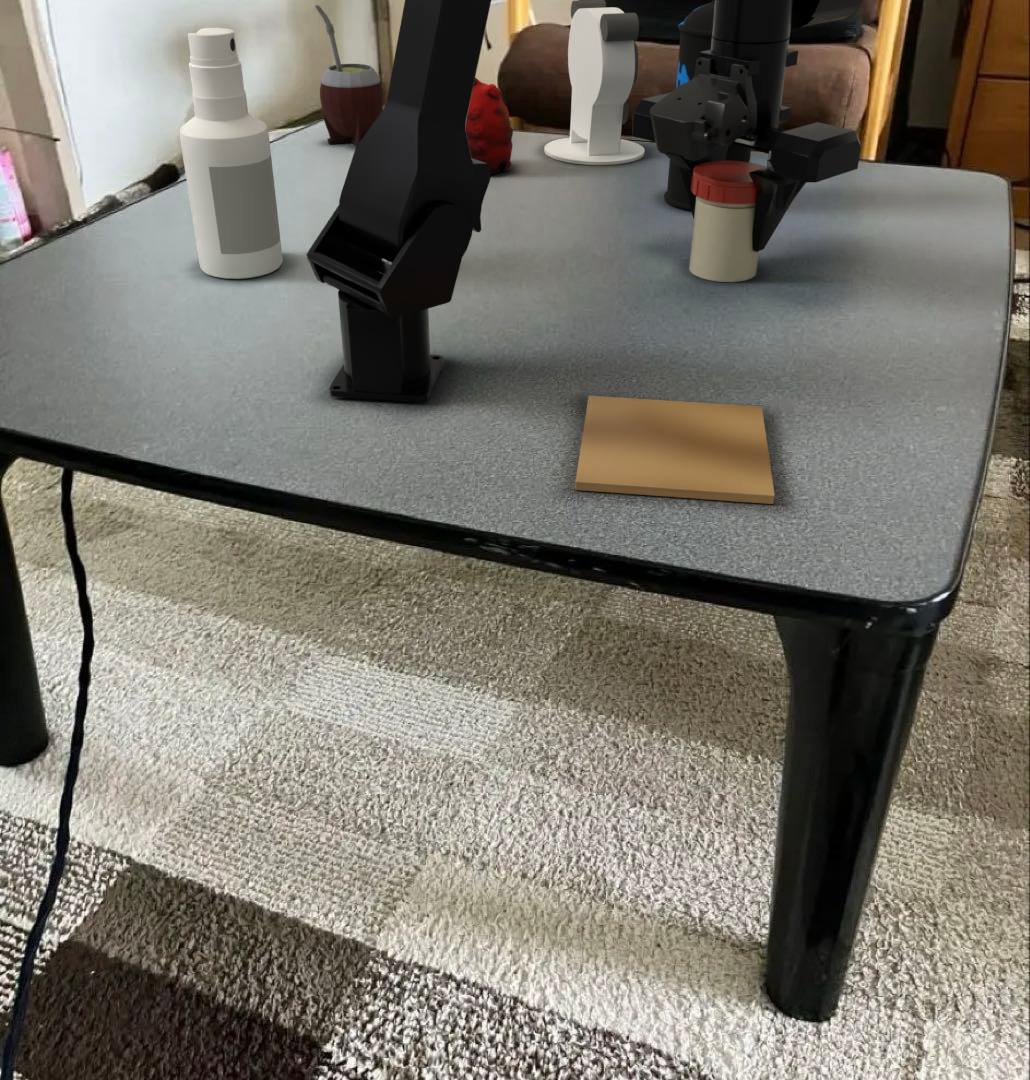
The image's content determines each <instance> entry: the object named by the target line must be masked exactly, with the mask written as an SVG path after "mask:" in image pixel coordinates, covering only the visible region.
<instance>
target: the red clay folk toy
mask: <svg viewBox="0 0 1030 1080" xmlns="http://www.w3.org/2000/svg"><path fill="white" fill-rule="evenodd" d="M513 134H514V131H513V127H512V125H511V118H510V113H509V109H508V107H507V105H506V104H505V103H504V100H503V92H502V90H501V88H499V87H497V85H496V84H495V83H489V84H488V83H484V82H482V81H481V80H480V79H478V78H477V77H475V81H474V86H473V91H472V95H471V100H470V105H469V110H468V114H467V120H466V135H467V139H468V143H469V148H470V152H471V156H472V159H475V160H478V161H481V162H484V163H487V164H489V165H490V175H491V174H497V173H499V172H507V171H509V170H510V169H511V167H512V162H511V158H512V151H513V141H512V138H513Z"/></svg>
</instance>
